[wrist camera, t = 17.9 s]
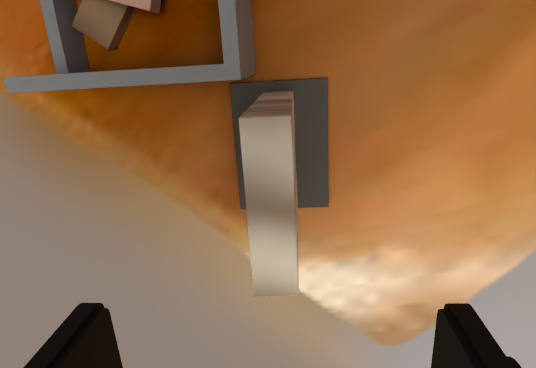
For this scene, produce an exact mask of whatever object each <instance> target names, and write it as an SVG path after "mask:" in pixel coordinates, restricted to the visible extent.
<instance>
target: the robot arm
mask: <svg viewBox="0 0 536 368" xmlns="http://www.w3.org/2000/svg"><path fill="white" fill-rule="evenodd" d="M24 368H123V367H122V363H121V359H120V354H119V350H118V346H117V341H116V338H115V333H114V329H113V324H112V321H111V316H110V312H109V310H108V309H107V308H104V306H103V304H102V303H81V304H79V305H78V306H77V307H76V308H75V309H74V310H73V311H72V313H71V314H70V315H69V316H68V317H67V319H66V320H65V321H64V322H63V323H62V324H61V325H60V327H59V328H58V329H57V330H56V331H55V332H54V333H53V335H52V336H51V337H50V338H49V339H48V340H47V341H46V343H45V344H44V345H43V346H42V347H41V348H40V349H39V351H38V352H37V353H36V354H35V355H34V356H33V358H32V359H31V360H30V361H29V362H28V363H27V364H26V366H25V367H24ZM431 368H521V367H520V365H519V364H518V363H517V362H516V360H515V359H513V358H511V357H506V356H505V354H504V353H503V351H502V350H501V348H500V347H499V345H498V344H497V342H496V341H495V339H494V338H493V337H492V335H491V334H490V332H489V331H488V329H487V328H486V326H485V325H484V324H483V322H482V321H481V319H480V318H479V316H478V315H477V313H476V312H475V310H474V309H473V308H472V306H471V305H470V304H445V306H444V309H439V310H438V313H437V321H436V329H435V338H434V347H433V355H432V364H431Z"/></svg>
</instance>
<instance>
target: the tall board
mask: <svg viewBox="0 0 536 368" xmlns="http://www.w3.org/2000/svg"><path fill="white" fill-rule="evenodd" d="M239 129H240V141H241V152H242V163H243V175H244V186H245V198H246V209H247V221H248V232H249V244H250V255H251V266H252V277H253V289H254V296H298V294H299V290H298V198H297V173H296V148H295V123H294V98H293V90H282V91H265V92H263V93H262V94H261V95H260V96H259V97H258V98H257V100H256V101H255V102H254V103H253V104H252V105H251V106H250V107H249V108H248V109H247V110H246V111H245V112H244V113H243V114H242V115H241V116H240V117H239Z"/></svg>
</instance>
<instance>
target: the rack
mask: <svg viewBox="0 0 536 368" xmlns="http://www.w3.org/2000/svg"><path fill="white" fill-rule="evenodd" d="M40 4H41V8H42V13H43V17H44V21H45V26H46V30H47V35H48V39H49V43H50V48H51V52H52V56H53V61H54V65H55V69H56V74H47V75H33V76H18V77H3V82H4V85H5V89H6V92H7V93H17V92H35V91H52V90H70V89H88V88H105V87H123V86H140V85H158V84H175V83H193V82H210V81H228V80H242V79H244V78H247V77H249V76H252V75H254V74H256V67H255V52H254V37H253V22H252V6H251V0H218V6H219V16H220V27H221V38H222V49H223V60H224V64H208V65H192V66H175V67H159V68H143V69H126V70H110V71H94V72H90V69H89V64H88V59H87V54H86V49H85V44H84V39H83V34H82V33H81V32H80V31H78V30H77V29H75V28H74V27H72V23H73V21H74V19H75V16H76V14H77V11H78V9H77V4H76V0H40Z"/></svg>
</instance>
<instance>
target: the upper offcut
mask: <svg viewBox="0 0 536 368" xmlns="http://www.w3.org/2000/svg"><path fill="white" fill-rule="evenodd" d="M110 1H114V2H118V3H121V4H125V5H129V6H133V7H136V8H140V9H144V10H147V11H151V12H155V13H160V6H161V0H110Z"/></svg>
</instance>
